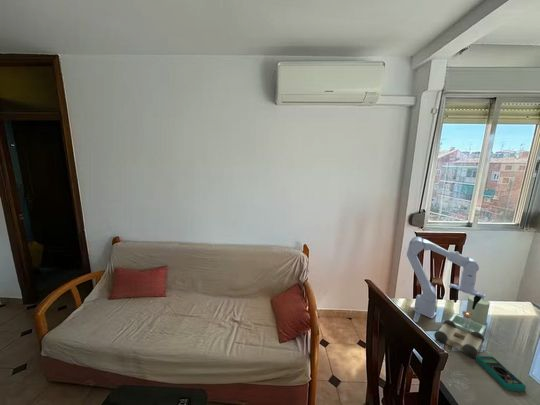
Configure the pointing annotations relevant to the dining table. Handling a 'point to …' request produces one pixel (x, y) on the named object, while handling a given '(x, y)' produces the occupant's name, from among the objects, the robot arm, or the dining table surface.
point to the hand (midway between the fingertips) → (464, 305)
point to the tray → (473, 325)
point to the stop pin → (466, 319)
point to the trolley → (460, 338)
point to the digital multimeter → (501, 373)
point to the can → (478, 310)
